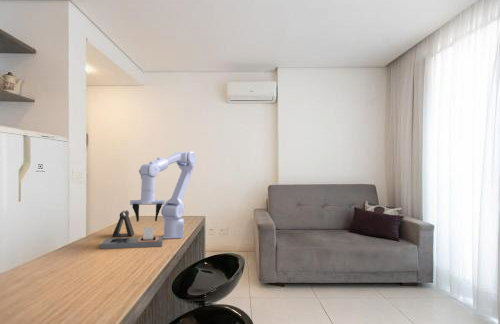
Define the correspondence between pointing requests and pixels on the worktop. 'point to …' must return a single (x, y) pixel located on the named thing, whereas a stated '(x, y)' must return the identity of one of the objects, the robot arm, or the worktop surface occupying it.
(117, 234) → the phone stand
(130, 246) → the rail plate
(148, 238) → the block
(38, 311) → the worktop surface
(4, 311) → the worktop surface
